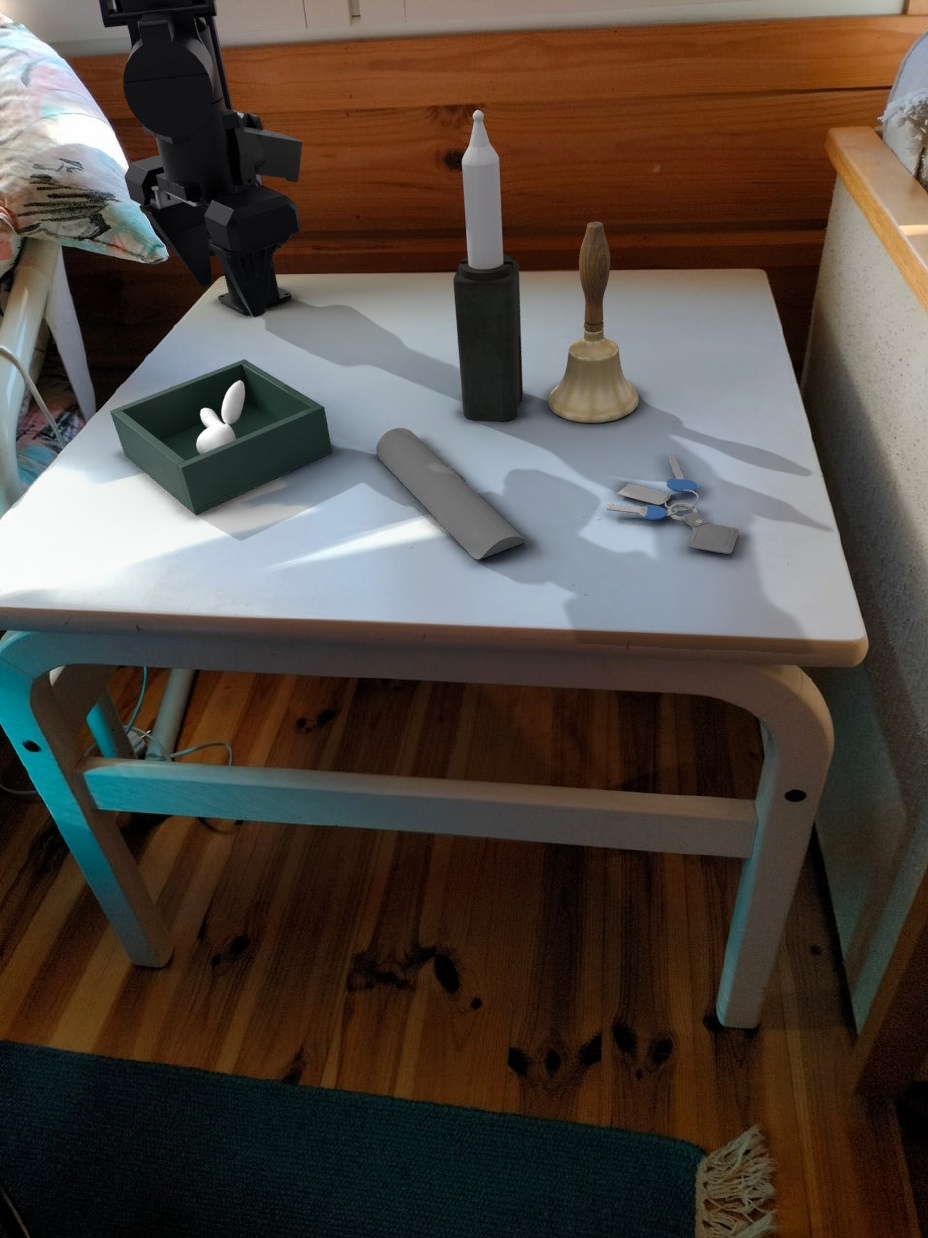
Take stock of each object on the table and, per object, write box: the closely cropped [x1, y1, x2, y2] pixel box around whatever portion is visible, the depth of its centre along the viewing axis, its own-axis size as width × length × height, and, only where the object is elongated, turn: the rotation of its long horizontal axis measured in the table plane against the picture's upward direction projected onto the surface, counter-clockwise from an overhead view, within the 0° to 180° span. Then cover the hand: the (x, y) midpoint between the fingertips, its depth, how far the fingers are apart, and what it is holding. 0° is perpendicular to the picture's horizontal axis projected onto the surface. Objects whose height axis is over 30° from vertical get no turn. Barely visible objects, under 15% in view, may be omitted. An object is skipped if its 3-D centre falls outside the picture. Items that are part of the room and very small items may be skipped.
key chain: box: [605, 452, 740, 555], centre depth 74 cm, size 14×8×1 cm, turn 15°
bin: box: [109, 358, 333, 516], centre depth 84 cm, size 14×14×4 cm
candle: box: [452, 109, 524, 422], centre depth 81 cm, size 5×5×25 cm
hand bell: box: [547, 221, 640, 424], centre depth 84 cm, size 8×8×16 cm
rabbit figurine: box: [196, 380, 245, 455], centre depth 84 cm, size 6×4×8 cm
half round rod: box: [375, 427, 527, 560], centre depth 78 cm, size 4×20×2 cm, turn 28°
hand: (231, 299), depth 83 cm, fingers open, 9 cm apart
